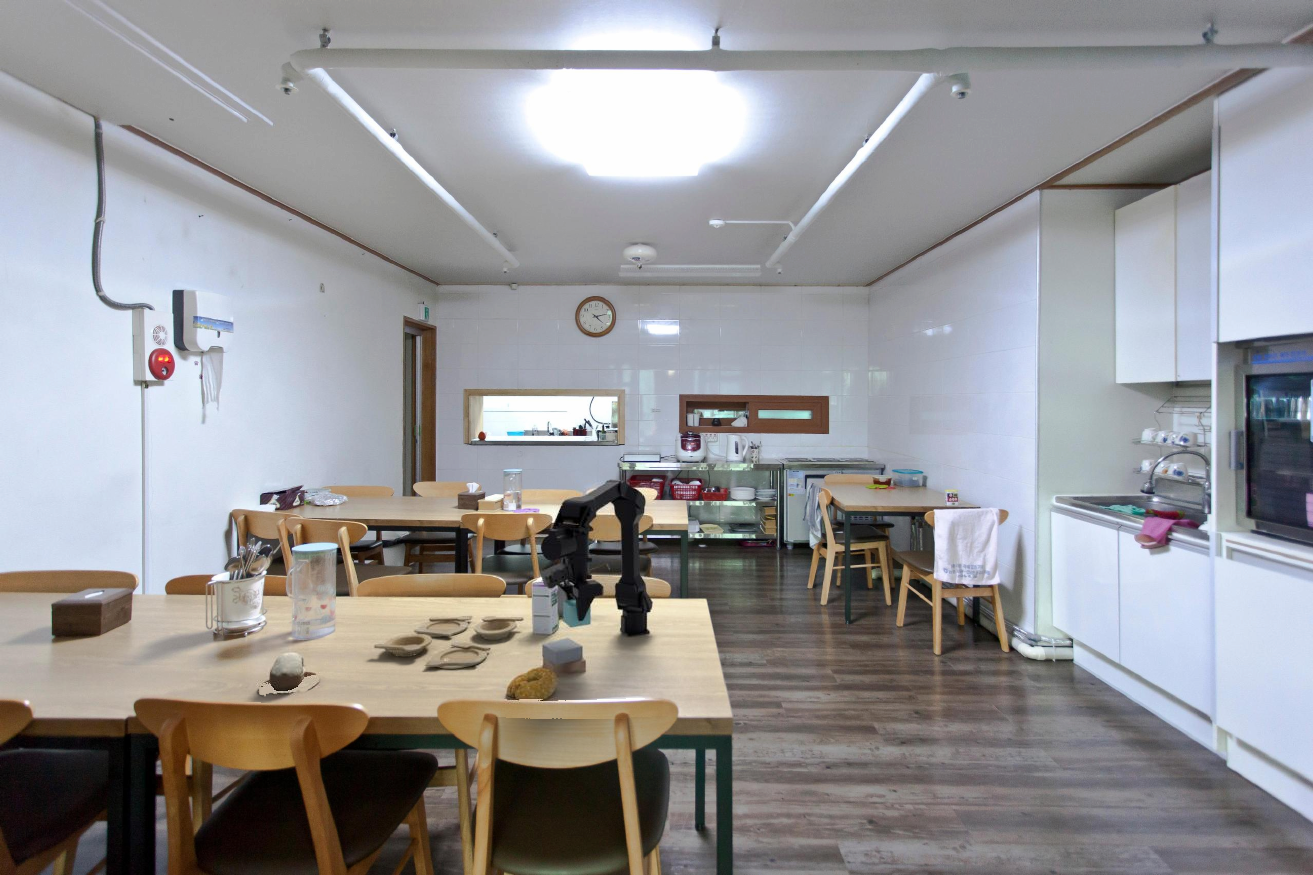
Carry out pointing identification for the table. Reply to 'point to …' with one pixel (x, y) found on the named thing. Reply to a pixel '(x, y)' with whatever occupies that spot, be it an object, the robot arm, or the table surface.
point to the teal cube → (574, 614)
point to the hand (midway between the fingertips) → (576, 617)
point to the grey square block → (562, 651)
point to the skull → (287, 672)
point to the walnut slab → (566, 667)
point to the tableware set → (462, 652)
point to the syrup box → (544, 608)
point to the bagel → (533, 684)
